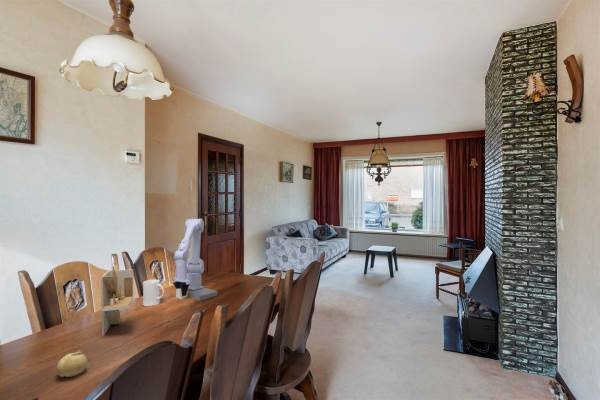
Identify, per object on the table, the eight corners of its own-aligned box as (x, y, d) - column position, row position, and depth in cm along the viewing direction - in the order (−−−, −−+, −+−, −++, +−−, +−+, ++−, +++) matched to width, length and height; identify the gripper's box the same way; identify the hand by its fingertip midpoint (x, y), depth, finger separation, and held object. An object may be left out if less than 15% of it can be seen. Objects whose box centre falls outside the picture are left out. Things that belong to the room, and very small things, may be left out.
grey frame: (134, 322, 142) (133, 259, 142) (128, 336, 126) (127, 266, 126) (109, 325, 138) (109, 260, 138) (100, 340, 123) (99, 268, 123)
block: (175, 297, 176) (175, 288, 176) (183, 295, 179) (183, 287, 179) (180, 299, 173) (180, 290, 173) (187, 297, 176) (187, 288, 176)
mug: (168, 302, 168) (168, 280, 168) (156, 307, 160) (156, 284, 160) (151, 300, 171) (151, 278, 171) (138, 305, 163) (138, 282, 163)
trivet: (187, 296, 178) (187, 292, 178) (205, 291, 187) (205, 287, 187) (199, 300, 170) (199, 296, 170) (217, 295, 180) (217, 291, 180)
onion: (66, 383, 93) (66, 360, 93) (50, 378, 96) (50, 355, 96) (93, 370, 101) (93, 348, 101) (77, 365, 104) (76, 344, 104)
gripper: (168, 270, 177) (168, 294, 177) (182, 274, 168) (182, 299, 168) (179, 268, 183) (179, 291, 183) (193, 271, 174) (193, 295, 174)
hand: (181, 294), depth 176 cm, fingers closed on block, 4 cm apart
